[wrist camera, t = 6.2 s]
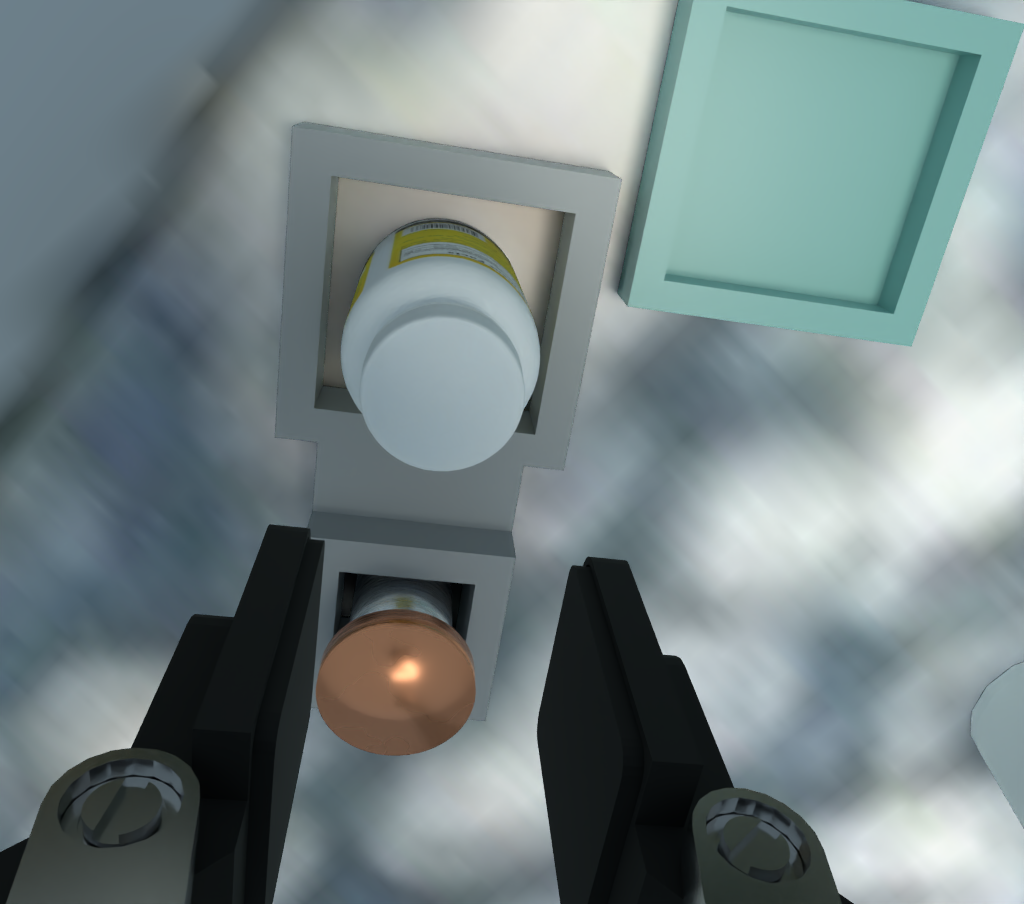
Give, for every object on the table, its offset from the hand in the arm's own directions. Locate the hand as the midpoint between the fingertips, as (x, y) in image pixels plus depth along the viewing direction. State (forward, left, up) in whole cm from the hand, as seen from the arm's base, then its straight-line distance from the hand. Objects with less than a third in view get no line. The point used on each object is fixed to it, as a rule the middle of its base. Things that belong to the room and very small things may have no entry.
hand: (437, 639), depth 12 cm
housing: (-5, 0, -19) cm, 20 cm away
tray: (+6, -11, -19) cm, 23 cm away
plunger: (-11, 0, -19) cm, 22 cm away
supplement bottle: (0, 0, -20) cm, 20 cm away
